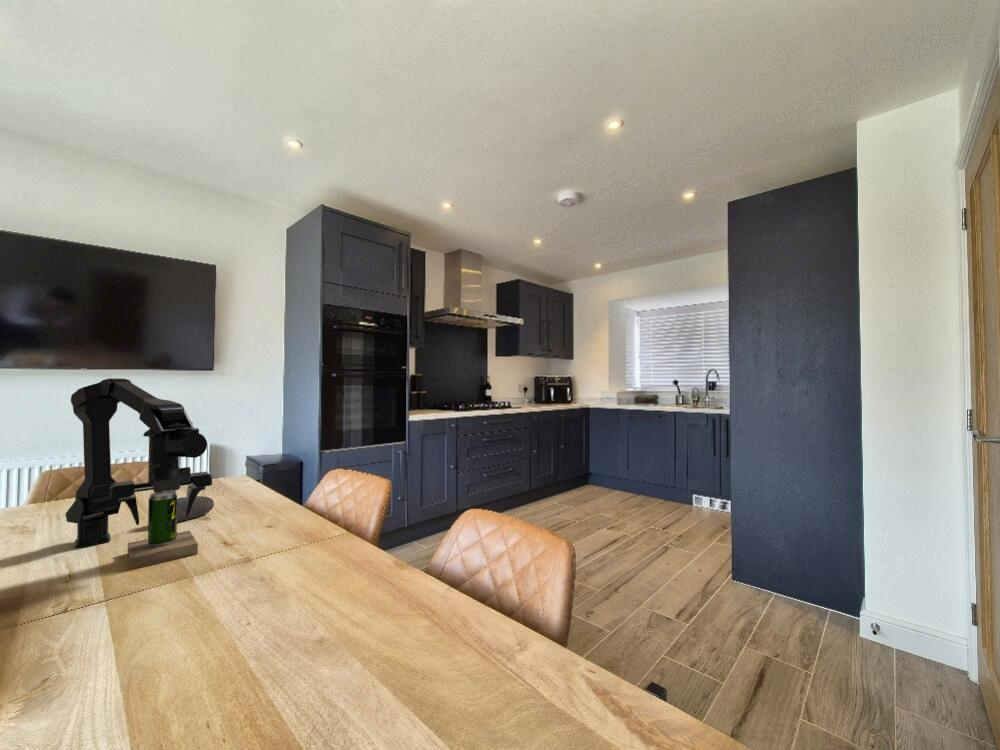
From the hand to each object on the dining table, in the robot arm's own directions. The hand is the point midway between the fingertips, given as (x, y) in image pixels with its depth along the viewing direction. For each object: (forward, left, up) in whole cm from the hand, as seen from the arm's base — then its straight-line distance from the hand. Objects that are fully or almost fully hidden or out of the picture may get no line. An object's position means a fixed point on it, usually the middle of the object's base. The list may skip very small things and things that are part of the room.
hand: (162, 520), depth 100 cm
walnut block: (0, 0, -8) cm, 8 cm away
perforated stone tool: (-27, +8, -8) cm, 29 cm away
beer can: (0, 0, -6) cm, 6 cm away
